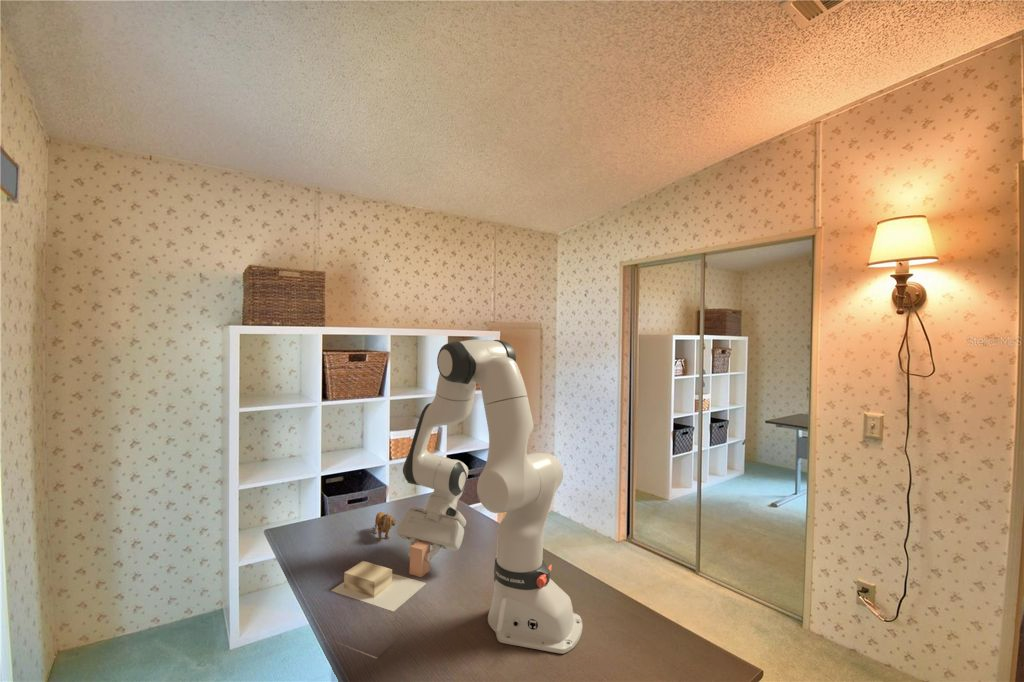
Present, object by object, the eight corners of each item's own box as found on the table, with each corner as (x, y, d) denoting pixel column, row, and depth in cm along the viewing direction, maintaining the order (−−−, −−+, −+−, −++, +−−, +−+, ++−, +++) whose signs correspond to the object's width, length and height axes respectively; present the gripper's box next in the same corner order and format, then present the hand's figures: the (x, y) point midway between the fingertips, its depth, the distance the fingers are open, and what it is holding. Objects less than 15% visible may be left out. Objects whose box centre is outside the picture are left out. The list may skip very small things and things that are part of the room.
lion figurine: (397, 542, 148) (398, 514, 148) (381, 546, 145) (382, 518, 144) (381, 525, 160) (382, 500, 160) (366, 529, 157) (367, 503, 156)
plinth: (391, 584, 123) (392, 569, 123) (374, 597, 116) (374, 581, 116) (362, 575, 127) (362, 560, 127) (343, 587, 120) (344, 572, 120)
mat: (426, 584, 124) (426, 583, 124) (393, 612, 111) (393, 611, 111) (367, 567, 132) (367, 566, 132) (330, 591, 119) (330, 590, 119)
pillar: (429, 571, 130) (430, 543, 130) (421, 578, 127) (422, 549, 127) (417, 568, 132) (418, 540, 132) (409, 574, 128) (410, 546, 128)
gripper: (405, 501, 140) (384, 546, 131) (464, 513, 131) (445, 562, 123) (414, 510, 144) (393, 554, 135) (471, 523, 136) (453, 571, 127)
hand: (418, 558), depth 129 cm, fingers closed on pillar, 4 cm apart
